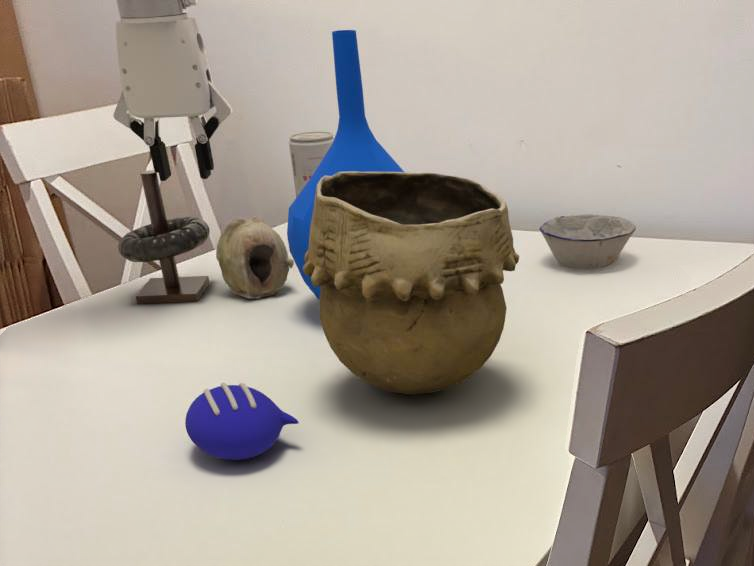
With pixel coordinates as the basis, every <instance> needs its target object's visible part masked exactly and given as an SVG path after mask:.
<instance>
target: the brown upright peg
mask: <svg viewBox="0 0 754 566" xmlns="http://www.w3.org/2000/svg"><path fill="white" fill-rule="evenodd" d="M139 174H140V179H141V184H142V189H143V193H144V197H145V202H146V206H147V211H148V215H149V221H150V224H151V225H152V230H153V234H154V236H158V235H162V234H165V233H169V228H168V224H167V220H168V219H167V215H166V210H165V205H164V200H163V196H162V191H161V186H160V182H159V181H160V180H159V175H158V173H155V171H154V170H144V171H141V172H140V173H139ZM158 261H159V265H160V271H161V274H162V277H150V278H149V279H148V280H147V282H146V283H145V284H144V285H143V286H142V288H141V289H140V290H139V291H138V293H137V294H136V295H135V301H136V304H137V305H141V304H143V305H144V304H146V305H147V304H168V303H169V304H170V303H191V302H192V303H193V302H199V300H200V299H201V297H202V296H203V294H204V292H205V291H206V289H207V288H208V287H209V285H210V283H211V282H210V277H209V275H193V276H192V275H191V276H179V272H178V267H177V262H176V256H174V257H171V258H167V259H162V260H158Z"/></svg>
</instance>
